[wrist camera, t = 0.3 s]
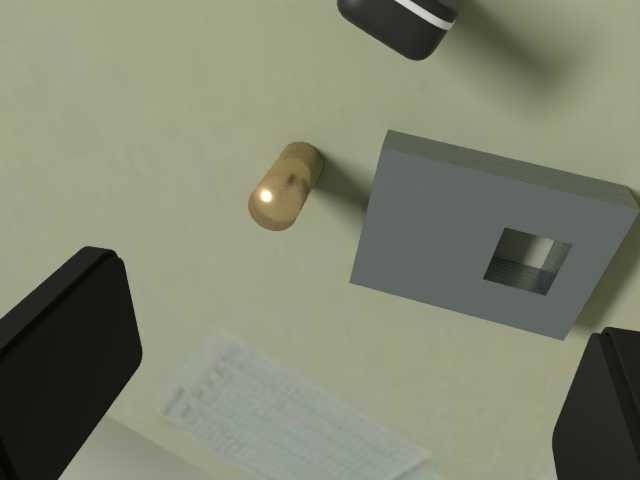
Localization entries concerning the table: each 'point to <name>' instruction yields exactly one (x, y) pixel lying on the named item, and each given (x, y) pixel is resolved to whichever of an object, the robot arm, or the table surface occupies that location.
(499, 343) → the table surface
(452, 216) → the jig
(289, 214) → the tan cylinder
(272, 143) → the table surface
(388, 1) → the battery charger
